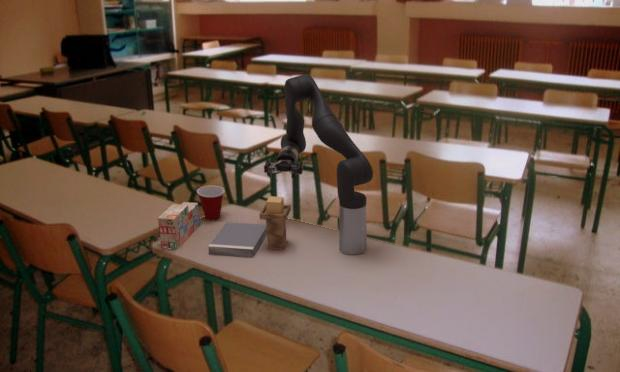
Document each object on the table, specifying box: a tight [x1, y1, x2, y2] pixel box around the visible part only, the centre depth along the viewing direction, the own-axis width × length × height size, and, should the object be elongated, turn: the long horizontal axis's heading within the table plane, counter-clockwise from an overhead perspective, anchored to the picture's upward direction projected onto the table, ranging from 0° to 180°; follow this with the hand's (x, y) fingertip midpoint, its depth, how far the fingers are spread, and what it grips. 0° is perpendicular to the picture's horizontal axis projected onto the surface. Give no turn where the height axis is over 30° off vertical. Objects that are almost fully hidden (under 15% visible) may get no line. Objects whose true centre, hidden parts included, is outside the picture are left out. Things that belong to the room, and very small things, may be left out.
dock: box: [207, 221, 267, 258], centre depth 201 cm, size 16×20×3 cm
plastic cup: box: [196, 184, 226, 221], centre depth 220 cm, size 11×11×12 cm
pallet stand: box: [259, 204, 292, 250], centre depth 197 cm, size 9×9×14 cm
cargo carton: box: [265, 195, 285, 215], centre depth 194 cm, size 5×5×5 cm
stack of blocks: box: [157, 201, 201, 250], centre depth 206 cm, size 21×6×12 cm, turn 168°
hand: (280, 175), depth 202 cm, fingers open, 8 cm apart
